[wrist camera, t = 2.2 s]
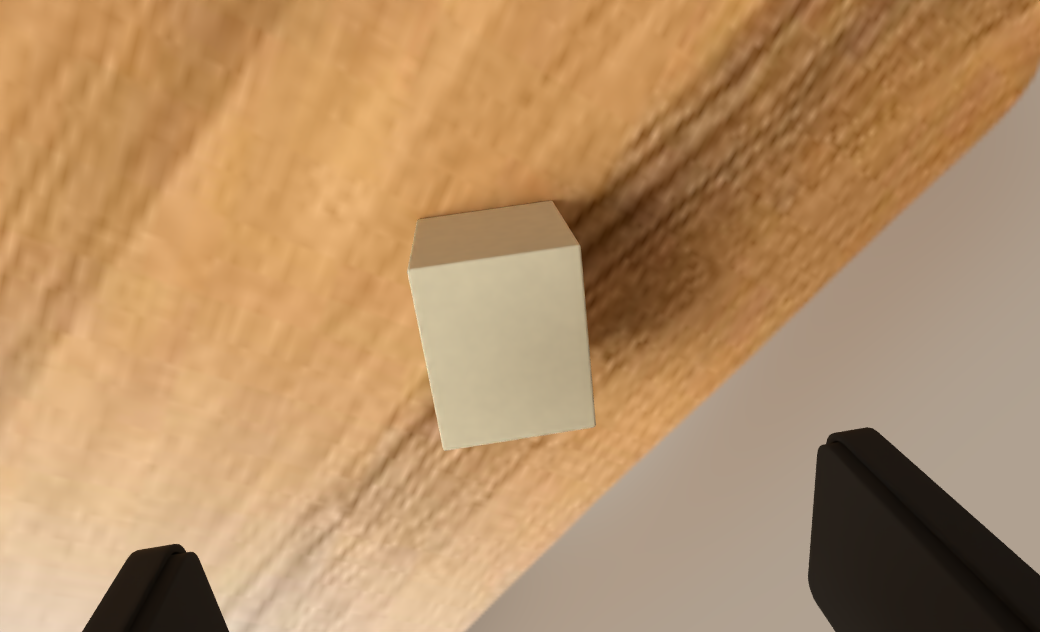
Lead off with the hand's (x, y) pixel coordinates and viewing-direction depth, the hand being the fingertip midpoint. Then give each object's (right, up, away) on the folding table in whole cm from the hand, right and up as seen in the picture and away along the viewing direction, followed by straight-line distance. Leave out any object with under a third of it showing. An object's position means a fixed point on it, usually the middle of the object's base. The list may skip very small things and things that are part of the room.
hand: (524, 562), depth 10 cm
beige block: (-1, +5, +10) cm, 11 cm away
